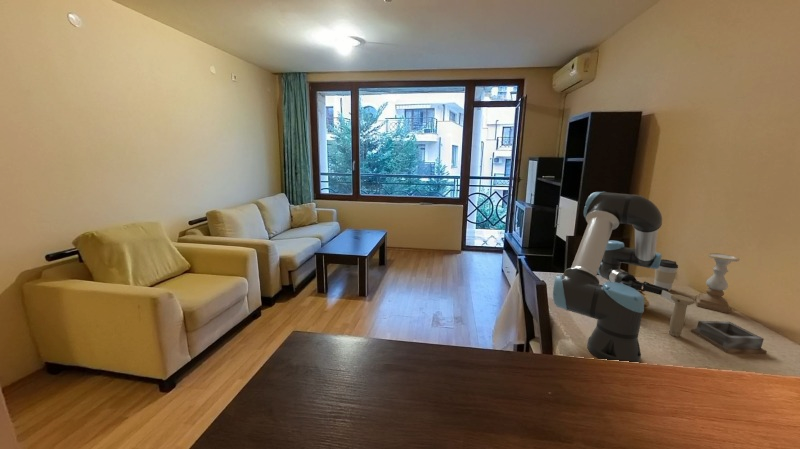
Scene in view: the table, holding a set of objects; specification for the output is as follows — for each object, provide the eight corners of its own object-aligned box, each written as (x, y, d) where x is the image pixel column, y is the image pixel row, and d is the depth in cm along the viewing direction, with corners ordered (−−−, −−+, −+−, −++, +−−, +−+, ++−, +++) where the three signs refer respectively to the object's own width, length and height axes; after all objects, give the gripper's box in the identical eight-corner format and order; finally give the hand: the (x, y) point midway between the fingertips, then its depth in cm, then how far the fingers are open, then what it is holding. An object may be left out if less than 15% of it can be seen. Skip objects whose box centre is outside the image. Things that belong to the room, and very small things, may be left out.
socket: (726, 352, 114) (729, 339, 113) (690, 331, 127) (693, 319, 126) (766, 353, 114) (769, 340, 113) (726, 332, 128) (729, 320, 127)
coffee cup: (653, 289, 169) (658, 261, 166) (649, 283, 177) (655, 256, 174) (675, 293, 165) (681, 264, 162) (670, 287, 173) (676, 259, 170)
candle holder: (695, 298, 159) (706, 251, 154) (726, 305, 152) (739, 256, 147) (696, 306, 151) (707, 255, 146) (729, 313, 144) (743, 261, 139)
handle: (680, 340, 120) (689, 302, 117) (661, 332, 126) (668, 295, 123) (687, 337, 123) (696, 300, 120) (668, 329, 128) (675, 293, 125)
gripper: (648, 287, 154) (687, 308, 133) (595, 286, 154) (626, 307, 133) (651, 272, 152) (691, 291, 132) (597, 271, 152) (629, 290, 131)
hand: (658, 299), depth 132 cm, fingers open, 13 cm apart
